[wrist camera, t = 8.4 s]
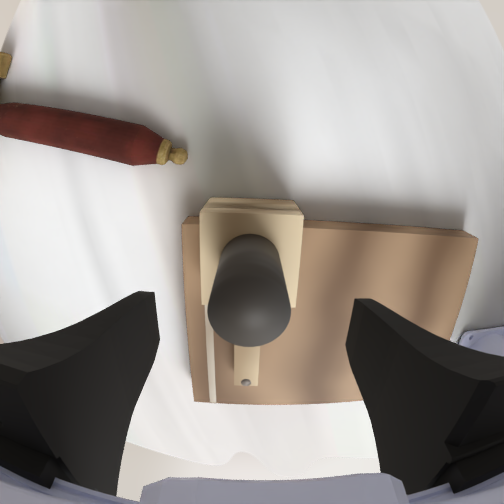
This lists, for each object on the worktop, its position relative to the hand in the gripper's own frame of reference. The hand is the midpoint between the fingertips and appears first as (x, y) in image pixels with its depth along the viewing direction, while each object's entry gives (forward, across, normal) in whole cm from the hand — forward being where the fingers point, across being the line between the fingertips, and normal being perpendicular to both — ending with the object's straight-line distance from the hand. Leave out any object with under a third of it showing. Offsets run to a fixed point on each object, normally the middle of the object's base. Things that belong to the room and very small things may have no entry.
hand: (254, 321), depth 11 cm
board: (+10, -6, +6) cm, 13 cm away
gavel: (+10, +14, -8) cm, 19 cm away
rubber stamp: (+9, 0, +3) cm, 10 cm away
